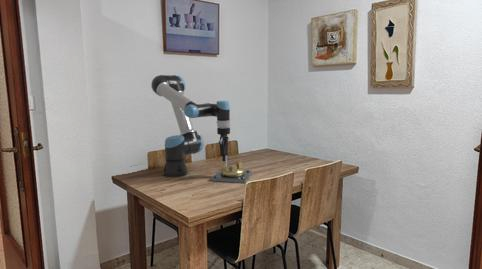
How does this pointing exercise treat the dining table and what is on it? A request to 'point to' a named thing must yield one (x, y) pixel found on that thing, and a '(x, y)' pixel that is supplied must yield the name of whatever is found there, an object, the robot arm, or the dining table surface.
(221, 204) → the dining table surface
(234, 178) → the plate
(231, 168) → the three-jaw lathe chuck
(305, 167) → the dining table surface
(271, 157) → the dining table surface
